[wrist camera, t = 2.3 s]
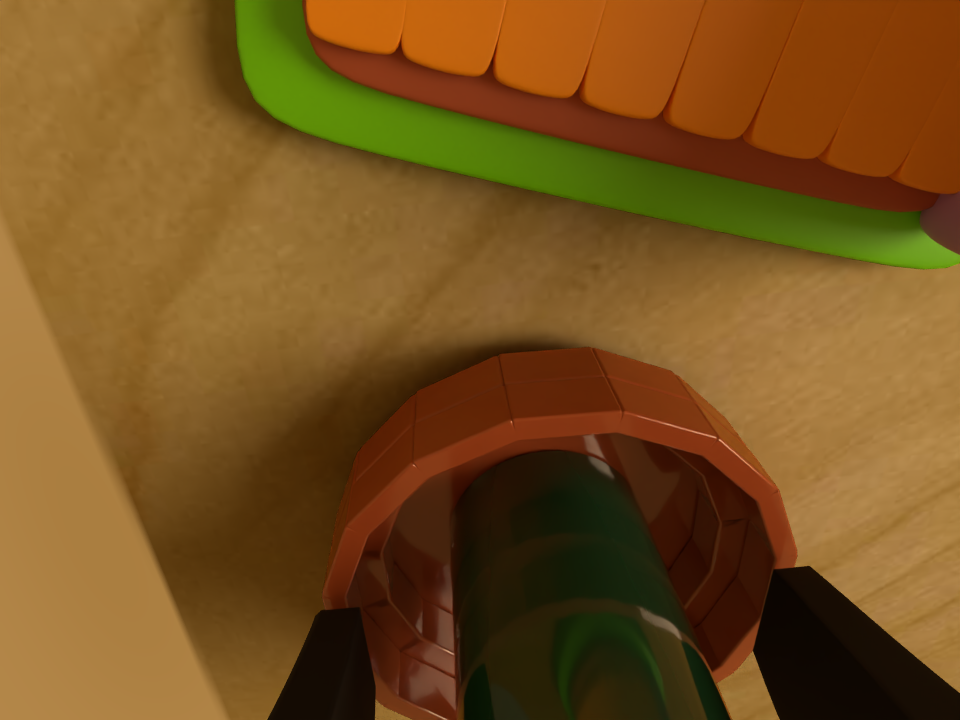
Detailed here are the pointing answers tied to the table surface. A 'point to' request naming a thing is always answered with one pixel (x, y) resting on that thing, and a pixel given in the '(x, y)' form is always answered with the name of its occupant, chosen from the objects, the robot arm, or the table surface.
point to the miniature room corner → (648, 106)
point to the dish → (545, 427)
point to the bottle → (568, 601)
